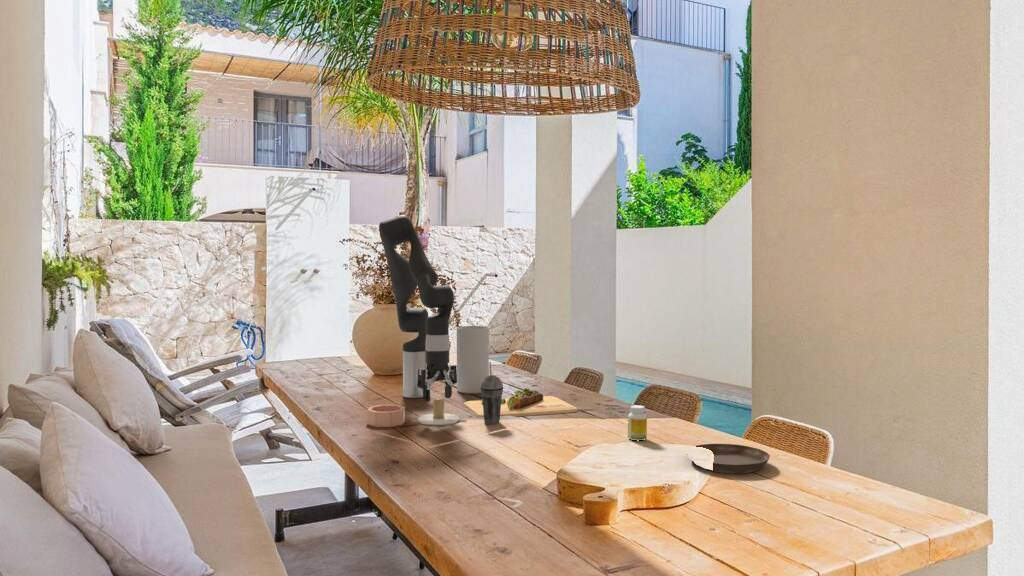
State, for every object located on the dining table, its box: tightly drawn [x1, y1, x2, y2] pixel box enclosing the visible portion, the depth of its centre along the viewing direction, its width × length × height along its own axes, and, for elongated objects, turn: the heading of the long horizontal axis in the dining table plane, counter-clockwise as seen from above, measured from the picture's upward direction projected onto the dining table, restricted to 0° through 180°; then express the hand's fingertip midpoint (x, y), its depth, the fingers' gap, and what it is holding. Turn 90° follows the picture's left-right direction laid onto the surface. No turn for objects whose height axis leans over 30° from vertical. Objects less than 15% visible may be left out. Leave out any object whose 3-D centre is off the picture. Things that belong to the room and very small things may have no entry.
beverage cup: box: [480, 361, 504, 426], centre depth 231 cm, size 7×7×20 cm
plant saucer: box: [695, 443, 771, 475], centre depth 188 cm, size 21×21×3 cm
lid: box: [417, 397, 460, 426], centre depth 234 cm, size 13×13×7 cm
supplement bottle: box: [627, 404, 648, 441], centre depth 213 cm, size 5×5×10 cm
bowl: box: [366, 404, 406, 428], centre depth 231 cm, size 11×11×5 cm
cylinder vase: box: [456, 325, 490, 395], centre depth 287 cm, size 12×12×25 cm
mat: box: [410, 418, 467, 429], centre depth 234 cm, size 13×13×1 cm
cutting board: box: [463, 387, 579, 418], centre depth 256 cm, size 35×23×8 cm
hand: (437, 399), depth 233 cm, fingers open, 8 cm apart
